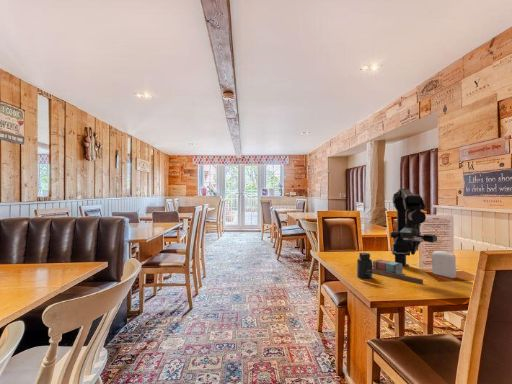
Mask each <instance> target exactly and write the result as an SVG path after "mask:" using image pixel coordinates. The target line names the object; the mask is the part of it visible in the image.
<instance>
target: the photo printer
mask: <svg viewBox="0 0 512 384" xmlns="http://www.w3.org/2000/svg"><path fill="white" fill-rule="evenodd" d="M456 259H457V257H456V255H455V254H453V253H451V252H449V251H445V250H435V251H432V254H431V268H432V269H431V270H432V274H435V275H438V276H442V277H446V278H449V279H450V278H451V279H456V277H457V267H456V266H457V265H456V264H457V263H456V262H457V261H456Z"/></svg>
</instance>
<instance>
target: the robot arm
mask: <svg viewBox="0 0 512 384" xmlns="http://www.w3.org/2000/svg"><path fill="white" fill-rule="evenodd" d="M392 204H393V207H394V209H395V210H396V230H394V231H391V233H390V238H393V243H392V247H391V255H393V256H394V262H397V263H402V267H408V266H409V264H408V263H407V256H410V255H415V254H416V251H417V250H418V248H419V246H420V244H421V243H422V242H427V243H435V242H438V237H437V235H436V234H431V233H430V234H429V233H428V234H423V235H422V232H421V229H420V228H421V226H422V224H423V223H424V222H426V220H427V217H426V213H425V212H423V211H425V208H426V204H425V201H424V199H423V197H421V195H420V194H414V193H413V192H412V191H411V189H409V188H399V189H398V191H397V192H395V193H394V194H393V196H392Z"/></svg>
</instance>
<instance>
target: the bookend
mask: <svg viewBox="0 0 512 384" xmlns="http://www.w3.org/2000/svg"><path fill="white" fill-rule="evenodd" d="M393 273H396V274H401V275H405V274H406V273H403V266H402V263H398V264H395V265H393ZM405 276H406V275H405Z"/></svg>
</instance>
